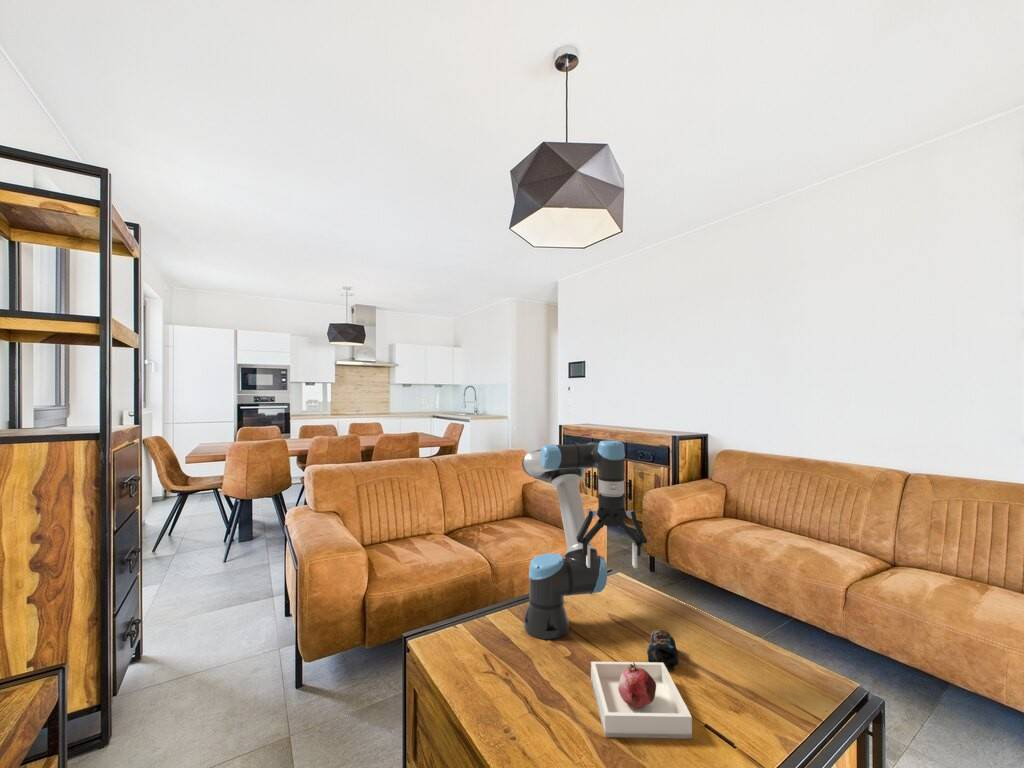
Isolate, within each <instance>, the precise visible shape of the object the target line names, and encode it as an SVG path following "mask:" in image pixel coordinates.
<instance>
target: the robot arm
mask: <svg viewBox="0 0 1024 768" xmlns="http://www.w3.org/2000/svg"><path fill="white" fill-rule="evenodd" d="M625 457H626V453H625V444H624V443H623V442H622V441H619V440H608V439H606V440H601V441H599V442H594V441H593V442H588V443H580V444H579V443H578V444H547V445H543V446H541V448H540V449H535V450H531V451H529V452H527V453H526V454H525V455H524V456H523V458H522V460H521V461H522V462H521V467H522V470H523V472H524V473H525V474H526V475H528V477H532V478H534V479H538V480H539V479H540V480H549V479H550V483H551V485H552V486H553V487H555V489H556V493H557V498H558V504H559V509H560V515H561V519H562V525H563V532H564V537H565V543H566V548H567V549H566V551H565V553H564V557H563V556H562V554H559V553H553V552H548V553H541V554H539V555H536V556H535V557H534V558H532V559H531V561H530V563H529V569H528V577H529V578H528V579H529V580H528V581H529V582H528V585H529V587H528V588H529V589H528V590H529V591H528V592H529V594H528V595H529V597H528V599H529V600H528V606H527V609H526V613H525V616H524V619H523V628H524V631H525V632H526V633H527V634H528V635H530V636H531V637H534V638H537V639H542V640H555V639H558V638H559V639H560V638H561V637H563V636H565V635H566V634H568V632H569V629H570V628H569V627H570V625H569V624H570V623H569V622H570V621H569V618H568V615H567V611H566V608H565V606H564V597H566V596H567V597H568V596H580V595H593V594H597V593H602V592H603V590H604V589H605V588H606V586H607V580H608V568H607V567H608V566H607V562H606V560H605V558H604V556H602V555H599V554H598V551H597V548H595V547H594V546H592V544H591V541H592V540H593V538H594V537H595V536H596V534H598V532H599V531H600V530H601V529H602V528H603V527H604V526H605V527H607V528H609V527H616V528H617V527H618V526H621V527H622V528H623V530H624V531H625V532H626V533H627V534H628V536H629V537H630V538H631V540H632V541H634V542H632V544H631V556H632V557H631V559H632V560H631V561H632V562H631V565H632V567H633V568H634V569H638V557H640V556H641V551H642V550H641V549H642V548H641V546H642V544H647V543H648V539H647V537H646V535H645V533H644V531H643V530H642V528H641V525H640V524H639V521H638V519H637V512H636V511H635V510H633V509H632V508H630V509H629V510H626V509H625V505H626V504H625V499H626V497H625V495H624V494H625V467H626V466H625V465H626V464H625V461H626V460H625V459H626V458H625ZM584 469H598V477H597V478H598V485H597V486H598V488H597V489H598V490H597V491H598V498H597V499H598V501H597V502H598V504H597V505H598V506H597V510H592V509H591V508H589V509H587V513H586V514H585V510H584V505H583V501H582V496H581V492H580V491H581V490H580V486H579V483H580V482H581V480H582V477H583V475H584V473H585V472H584V471H585V470H584ZM596 516H597V517H598V520H597V521H596V522H595V524H594V525H593V526H592V528H591V529H590V530H589V527H590V525H591V523H592V520H593V519H595V517H596ZM626 517H628V518H629V519H630V521H631V522H632V524H633V526H634V529H635V530H636V532H637V534H638V536H639V538H638V537H637V536H636V535H635V533H633V531H632V530H631V529H630V527H628V525H627V524H626V523H625V522H624V519H625V518H626Z"/></svg>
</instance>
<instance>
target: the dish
mask: <svg viewBox="0 0 1024 768" xmlns="http://www.w3.org/2000/svg"><path fill="white" fill-rule="evenodd" d="M633 662H634V663H635V666H636V667H640V668H643V669H644V670H646V671H647V672H648V673H649V675H650V676H651V677H652V678H653V679H654V681H655V683H656V692H655V697H654V700H653V701H652V702H651V703H650V704H647V705H645V706H644V707H642V708H634V707H631V706H629V705H628V704H627V703H626V702H624V701H623V699H622V697H621V695H620V693H619V690H618V685H619V680H620V677H621V674H622V672H623V671H624V670H625V669H627V668H628V667H630V664H632V665H633V666H634V664H633ZM667 669H668V668H666V667H665V665H664V663H657V662H649V661H647V662H643V661H640V662H639V661H637V662H636V661H590V681H591V685H592V689H593V692H594V693H593V694H594V697H595V701H596V706H597V711H598V714H599V718H600V721H601V726H602V730H603V734H604V737H605V738H628V739H629V738H631V739H632V738H633V739H634V738H636V739H637V738H638V739H685V740H686V739H693V717H692V715H691V712H690V711H689V708H688V707H687V705H686V703H685V701H684V700H683V698H682V695H681V694H680V692H679V690H678V687H677V686H676V684H675V682H674V681H673V678H672V677H671V674H670V672H669V670H667Z"/></svg>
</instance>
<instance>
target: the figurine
mask: <svg viewBox="0 0 1024 768" xmlns="http://www.w3.org/2000/svg"><path fill="white" fill-rule="evenodd" d="M677 649H678V648H677V645H676V641H675V639H674V637H672V635H671V634H670V633H669V631H667V630H666V629H661V628H658V629H655V630H653V631H652V633H651V635H650V644H649V645H648V648H647V649H646V653H647V662H657V663H664V665H665V667H666V669H667V670H668V671H675V670H676V669H675V667H676V666H678V665H679V661H680V660H679V654H678V650H677Z"/></svg>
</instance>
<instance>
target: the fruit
mask: <svg viewBox="0 0 1024 768" xmlns="http://www.w3.org/2000/svg"><path fill="white" fill-rule="evenodd" d="M632 662H633V664H634V666H633V665H632V664H630V667H628V668H627V669H625V670H624V671H623V672H622V674H621V677H620V680H619V685H618V690H619V693H620V695H621V697H622V699H623V701H624V702H626V703H627V704H628V705H629V706H631V707H634V708H642V707H644V706H645V705H647V704H650V703H651V702H652V701H653V700H654V697H655V692H656V683H655V681H654V679H653V678H652V677H651V676H650V675H649V673H648V672H647V671H646V670H644V669H643V668H640V667H636V666H635V663H634V662H635V661H632Z"/></svg>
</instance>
